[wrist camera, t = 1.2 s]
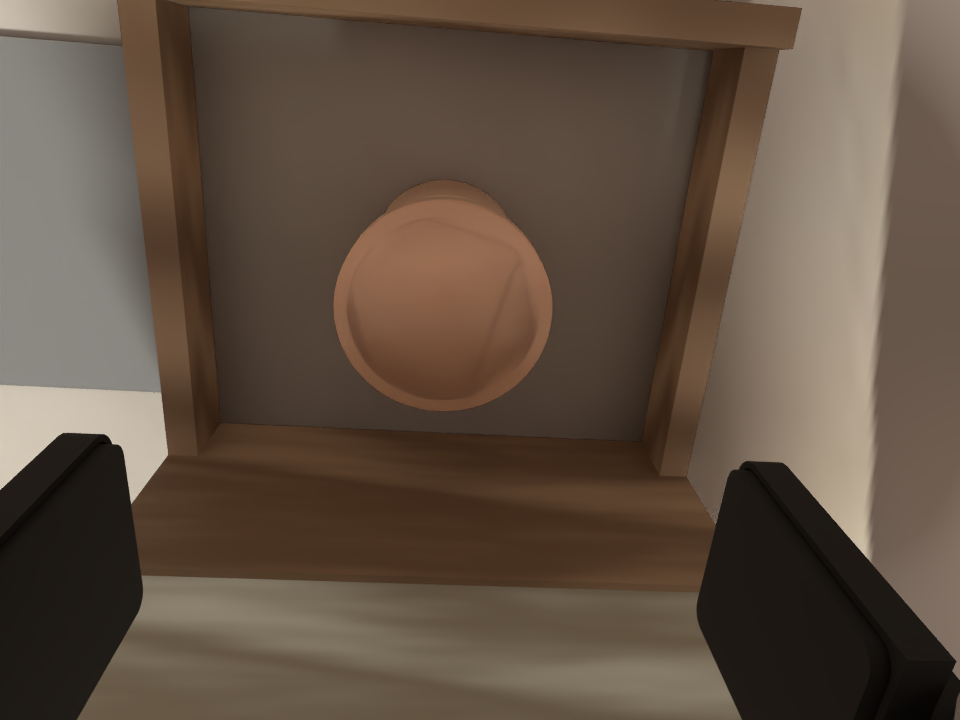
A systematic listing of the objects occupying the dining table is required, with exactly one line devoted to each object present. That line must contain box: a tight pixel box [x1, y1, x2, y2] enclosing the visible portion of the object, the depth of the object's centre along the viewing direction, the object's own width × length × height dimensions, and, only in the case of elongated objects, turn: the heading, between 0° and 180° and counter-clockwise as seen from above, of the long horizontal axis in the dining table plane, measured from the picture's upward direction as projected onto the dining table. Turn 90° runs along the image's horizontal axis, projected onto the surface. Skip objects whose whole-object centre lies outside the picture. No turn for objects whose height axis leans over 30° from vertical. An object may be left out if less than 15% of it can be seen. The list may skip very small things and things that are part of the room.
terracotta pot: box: [333, 180, 553, 411], centre depth 25 cm, size 7×7×8 cm
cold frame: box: [77, 0, 802, 720], centre depth 20 cm, size 19×22×18 cm
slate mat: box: [0, 36, 161, 392], centre depth 27 cm, size 14×10×1 cm
